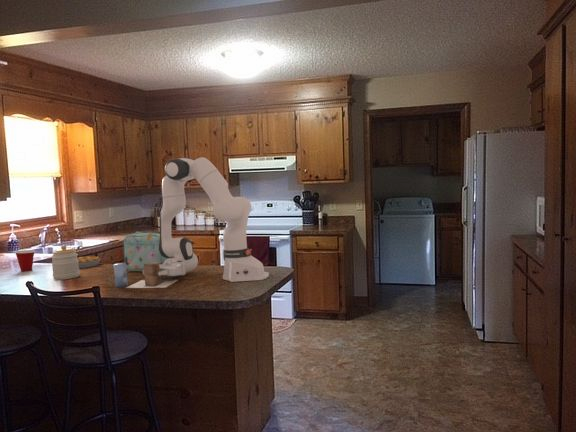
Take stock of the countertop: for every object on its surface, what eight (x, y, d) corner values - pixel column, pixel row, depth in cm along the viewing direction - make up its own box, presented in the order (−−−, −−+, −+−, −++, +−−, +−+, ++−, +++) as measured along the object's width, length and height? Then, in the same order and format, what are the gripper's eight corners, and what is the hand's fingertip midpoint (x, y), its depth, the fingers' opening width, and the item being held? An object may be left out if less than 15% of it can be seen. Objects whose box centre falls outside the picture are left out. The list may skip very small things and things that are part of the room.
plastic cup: (36, 270, 276) (34, 250, 275) (15, 273, 273) (13, 252, 271) (38, 267, 287) (36, 248, 285) (18, 270, 283) (16, 250, 282)
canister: (130, 285, 224) (128, 262, 223) (124, 288, 218) (122, 265, 217) (119, 285, 224) (117, 262, 223) (113, 288, 219) (111, 265, 218)
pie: (57, 266, 288) (56, 258, 287) (94, 261, 302) (93, 253, 301) (67, 271, 271) (67, 262, 271) (106, 265, 285) (105, 256, 285)
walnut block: (153, 282, 224) (151, 262, 223) (160, 283, 221) (159, 262, 221) (145, 285, 220) (143, 264, 219) (153, 286, 217) (151, 264, 216)
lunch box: (121, 271, 260) (118, 233, 258) (133, 267, 270) (129, 230, 268) (163, 272, 252) (159, 232, 250) (173, 268, 261) (170, 230, 260)
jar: (69, 280, 244) (66, 246, 243) (47, 280, 247) (44, 247, 245) (85, 274, 257) (81, 242, 255) (64, 274, 259) (61, 243, 258)
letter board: (179, 280, 229) (179, 279, 229) (165, 288, 213) (165, 287, 213) (141, 280, 232) (141, 279, 232) (125, 288, 217) (125, 287, 217)
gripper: (156, 260, 236) (134, 265, 224) (186, 262, 226) (166, 267, 214) (157, 272, 237) (135, 278, 225) (187, 274, 227) (167, 281, 215)
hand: (150, 273), depth 219 cm, fingers open, 8 cm apart
